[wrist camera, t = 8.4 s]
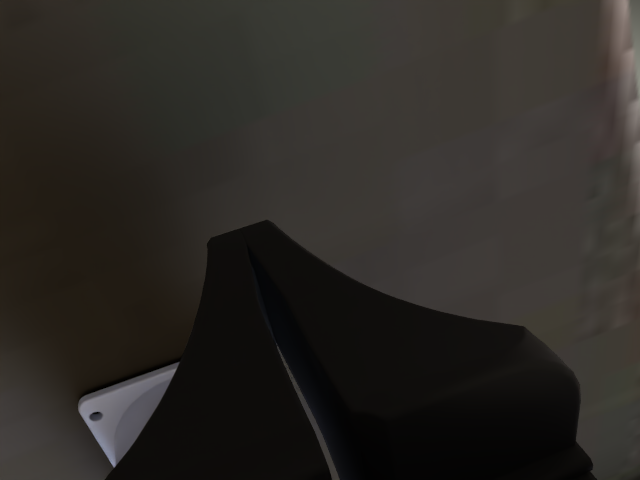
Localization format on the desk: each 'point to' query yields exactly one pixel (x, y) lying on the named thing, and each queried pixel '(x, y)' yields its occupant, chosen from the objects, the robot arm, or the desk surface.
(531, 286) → the desk surface
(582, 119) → the desk surface
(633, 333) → the desk surface
